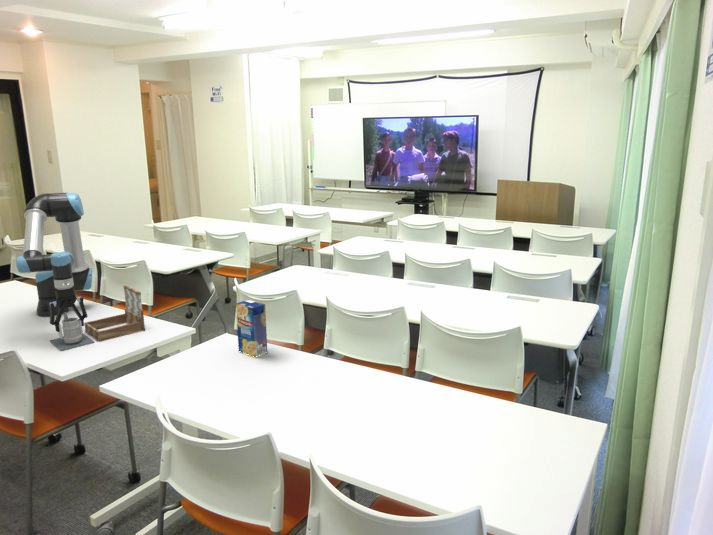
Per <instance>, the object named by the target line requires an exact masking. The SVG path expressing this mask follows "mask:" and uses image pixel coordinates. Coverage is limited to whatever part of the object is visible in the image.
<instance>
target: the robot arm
mask: <svg viewBox="0 0 713 535" xmlns="http://www.w3.org/2000/svg"><path fill="white" fill-rule="evenodd" d="M84 213H85V211H84V206H83V202H82V199H81V197H80V195H79V194H78V193H77V192H54V193H53V192H52V193H40V194H38V195H36V196H34V197H33V198H32V199H31V200H30V201H29V202H28V203H27V205H26V206H25V208H24V212H23V217H24V220H25V227H24V228H25V230H24V240H23V250H22V255H20V256H17V257H16V268H17V271H18V272H19V273H23V274H27V273H36V274H35V286H36V291H37V292H36V293H37V297H38V302H37V306H36V310H35V312H36V315H37V316H39V317H49V324H51V325H52V326H54V327H55V332H56V333H58V338H60V339H63V336H64V334H63V329H62V324H60V322H61V320H62V315H64V312H66V313H68V312H69V311H70V308H72V310H73V311H74V313H75V314H76V315H77V318H78V321H79V324H80V332H81V334H84V332H83V327H85V325H84V323H85V322H84V320H85V319H86V318H88V316H89V315H88V314H87V309H86V306H85V303H84V297H83V296H76V292H79V291H80V292H82V291H87V290H90V289H92V285H93V268H92V267H89V264H88V263H86V262H85V261H86V260H85V257H84V256H85V255H84V250H83V249H84V248H83V244H82V242H83V241H82V236H81V231H80V230H81V229H80V223H79V221H80V220H82V216H84ZM47 218H54V220H55V222H56V223H59V226H60V227H59V228H60V229H59V230H60V233H61V239H62V246H63V250H64V251H59V252H54V253H50V254H48V253H47V254H43V252H44V233H45V222H46V221H47ZM76 301H77V302H78V304H79V308H80V311H81V312H80V311H79V309H78V307H77V306H76V304H75V303H76Z"/></svg>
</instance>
